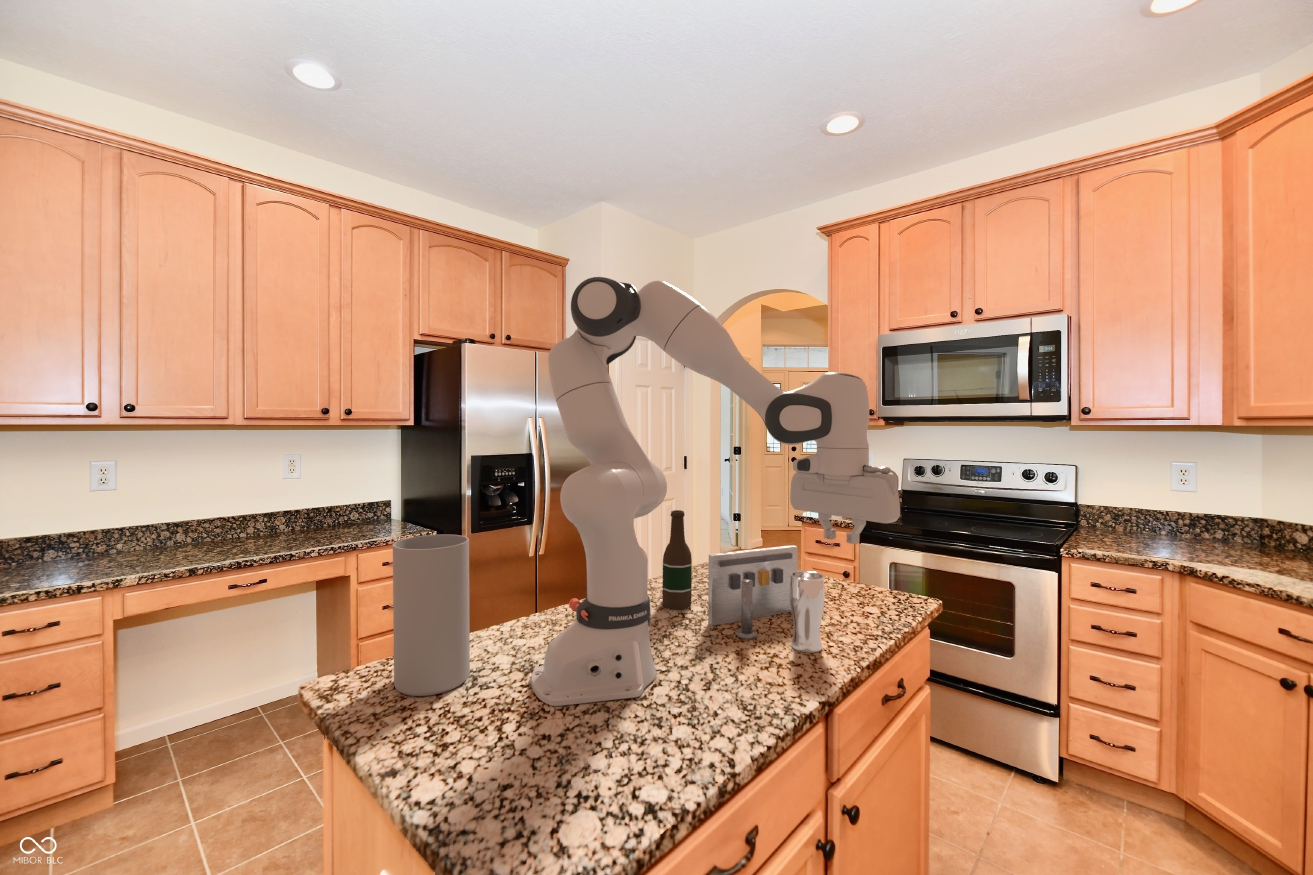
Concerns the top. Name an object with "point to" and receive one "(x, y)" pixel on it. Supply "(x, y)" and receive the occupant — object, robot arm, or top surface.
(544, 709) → the top surface
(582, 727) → the top surface
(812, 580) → the beer glass
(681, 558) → the beer bottle
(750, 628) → the post left
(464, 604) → the cylinder vase
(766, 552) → the panel
